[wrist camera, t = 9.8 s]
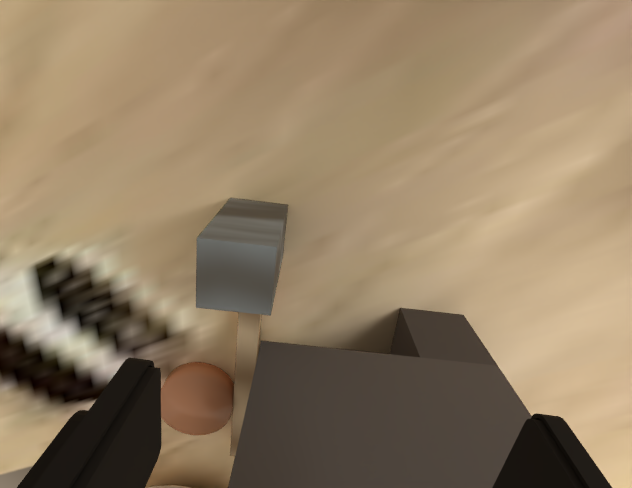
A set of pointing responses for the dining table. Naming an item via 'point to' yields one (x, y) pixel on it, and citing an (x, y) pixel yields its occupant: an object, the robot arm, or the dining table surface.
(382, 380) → the cabinet
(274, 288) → the grey block with handle
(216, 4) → the dining table surface
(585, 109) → the dining table surface
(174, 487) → the grey domed lid
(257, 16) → the dining table surface
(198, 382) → the coaster
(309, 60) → the dining table surface
